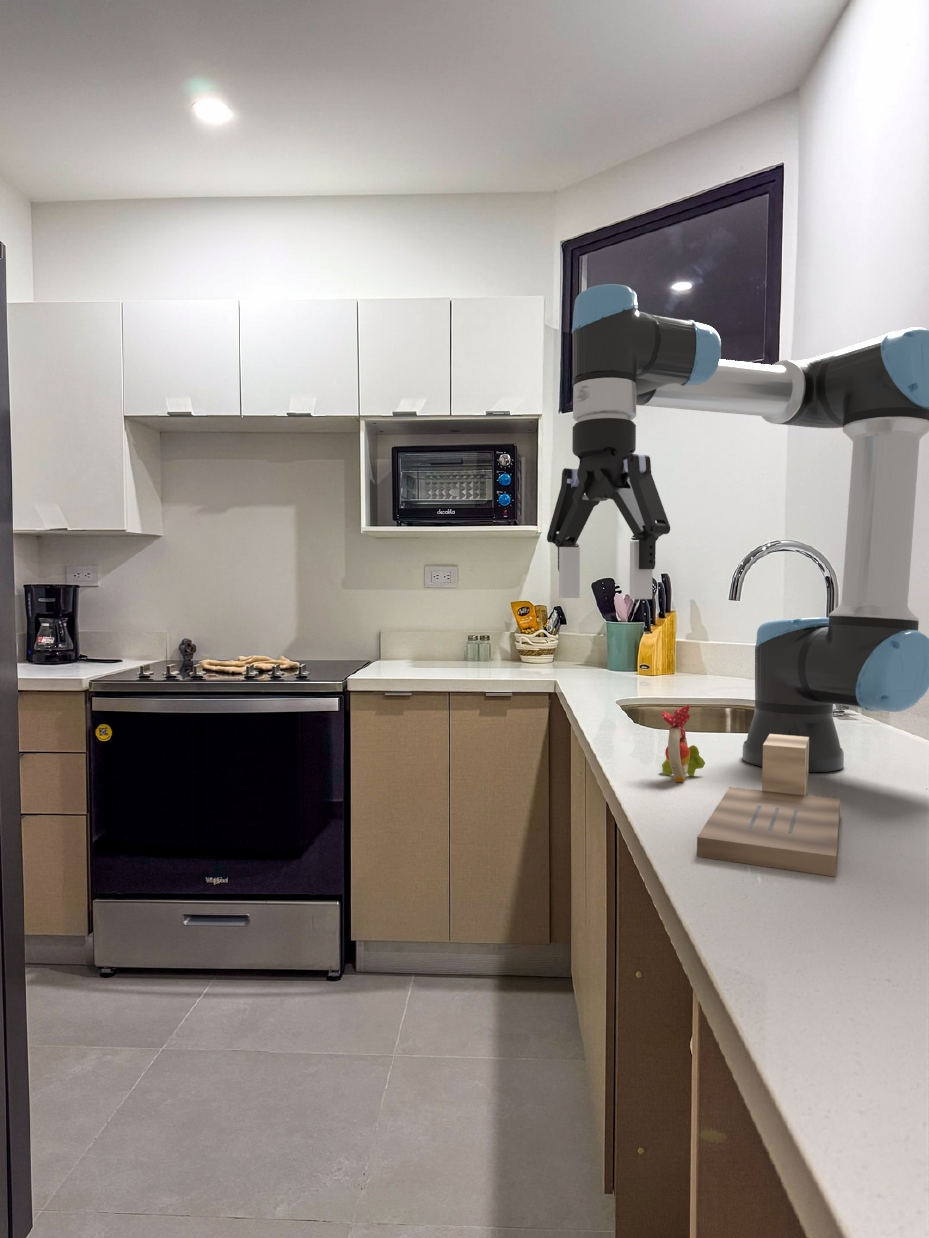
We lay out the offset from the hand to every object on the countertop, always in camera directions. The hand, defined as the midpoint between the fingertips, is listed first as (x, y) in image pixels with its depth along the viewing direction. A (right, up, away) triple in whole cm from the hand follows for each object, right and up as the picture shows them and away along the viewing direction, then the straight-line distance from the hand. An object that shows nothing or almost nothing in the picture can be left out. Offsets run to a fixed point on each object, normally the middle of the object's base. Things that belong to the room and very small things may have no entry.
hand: (602, 598), depth 97 cm
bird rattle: (+15, -26, +20) cm, 36 cm away
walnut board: (+18, -27, -7) cm, 33 cm away
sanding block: (+25, -26, +8) cm, 38 cm away
